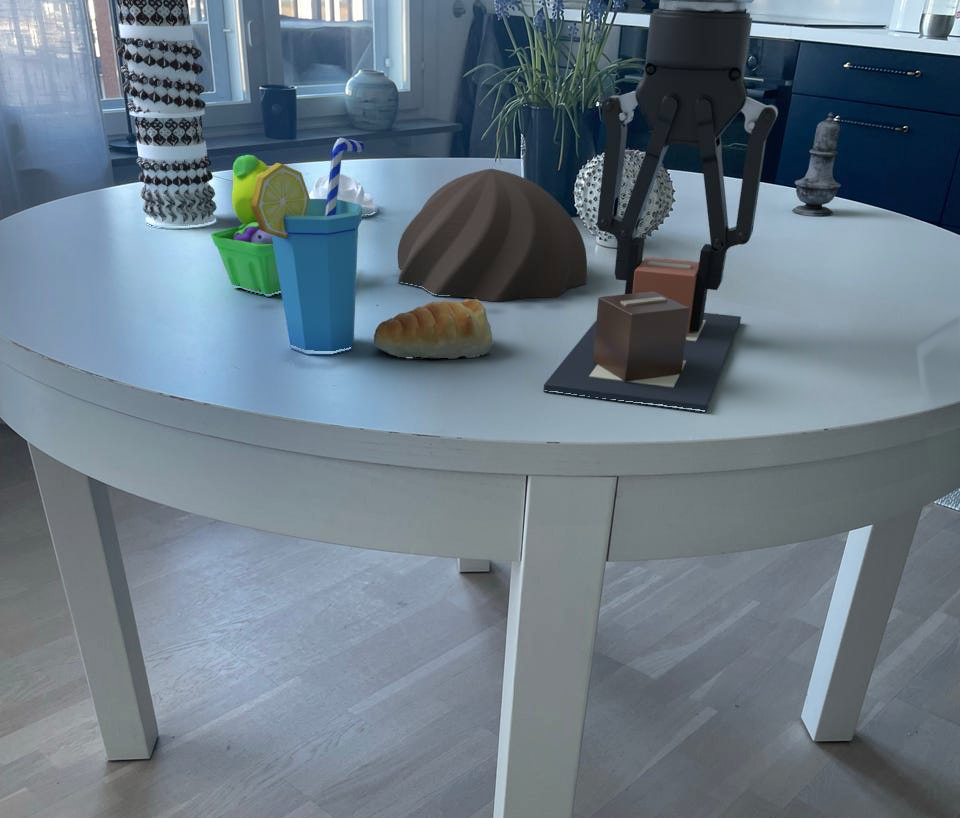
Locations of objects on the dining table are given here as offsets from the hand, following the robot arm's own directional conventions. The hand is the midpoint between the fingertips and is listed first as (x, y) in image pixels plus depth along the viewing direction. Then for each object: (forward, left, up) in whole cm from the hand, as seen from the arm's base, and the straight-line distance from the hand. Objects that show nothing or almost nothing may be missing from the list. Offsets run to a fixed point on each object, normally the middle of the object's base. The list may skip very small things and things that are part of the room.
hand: (662, 322), depth 88 cm
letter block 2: (-9, +8, 0) cm, 12 cm away
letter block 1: (0, 0, 0) cm, 0 cm away
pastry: (+2, +20, -1) cm, 20 cm away
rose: (+59, +11, -1) cm, 60 cm away
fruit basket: (+27, +27, -1) cm, 38 cm away
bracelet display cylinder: (+59, +31, -1) cm, 67 cm away
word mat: (-5, +4, -1) cm, 6 cm away
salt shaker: (+40, -49, -1) cm, 64 cm away
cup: (+7, +28, -1) cm, 29 cm away
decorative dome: (+23, +6, -1) cm, 24 cm away
